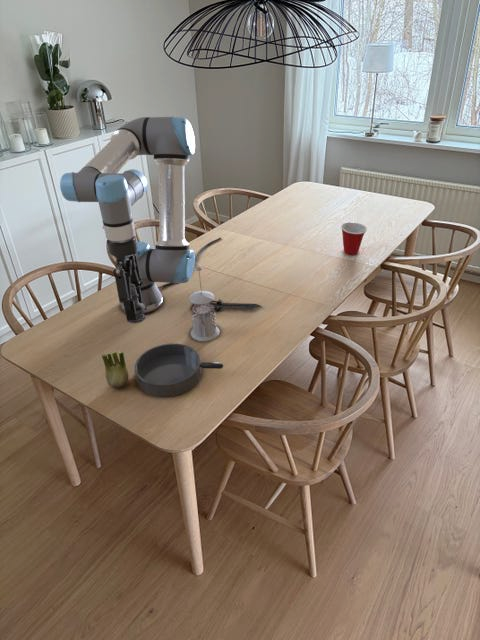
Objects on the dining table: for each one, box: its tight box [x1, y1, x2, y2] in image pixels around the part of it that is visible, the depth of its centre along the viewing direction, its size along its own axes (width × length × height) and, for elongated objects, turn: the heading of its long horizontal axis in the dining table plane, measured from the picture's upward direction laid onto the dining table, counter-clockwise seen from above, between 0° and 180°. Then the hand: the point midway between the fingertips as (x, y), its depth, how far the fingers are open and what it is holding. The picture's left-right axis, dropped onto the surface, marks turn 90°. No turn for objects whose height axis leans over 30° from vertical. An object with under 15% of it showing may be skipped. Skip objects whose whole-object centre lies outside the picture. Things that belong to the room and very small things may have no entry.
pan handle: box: [200, 361, 224, 370], centre depth 138 cm, size 7×2×2 cm, turn 86°
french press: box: [188, 265, 220, 342], centre depth 151 cm, size 10×12×25 cm
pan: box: [134, 343, 203, 398], centre depth 140 cm, size 19×19×4 cm
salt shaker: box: [123, 284, 147, 324], centre depth 132 cm, size 6×6×12 cm
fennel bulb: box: [101, 350, 129, 389], centre depth 134 cm, size 6×5×12 cm
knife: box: [191, 299, 263, 313], centre depth 170 cm, size 25×6×1 cm, turn 78°
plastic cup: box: [340, 221, 368, 256], centre depth 200 cm, size 11×11×12 cm
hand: (135, 312), depth 135 cm, fingers closed on salt shaker, 6 cm apart
